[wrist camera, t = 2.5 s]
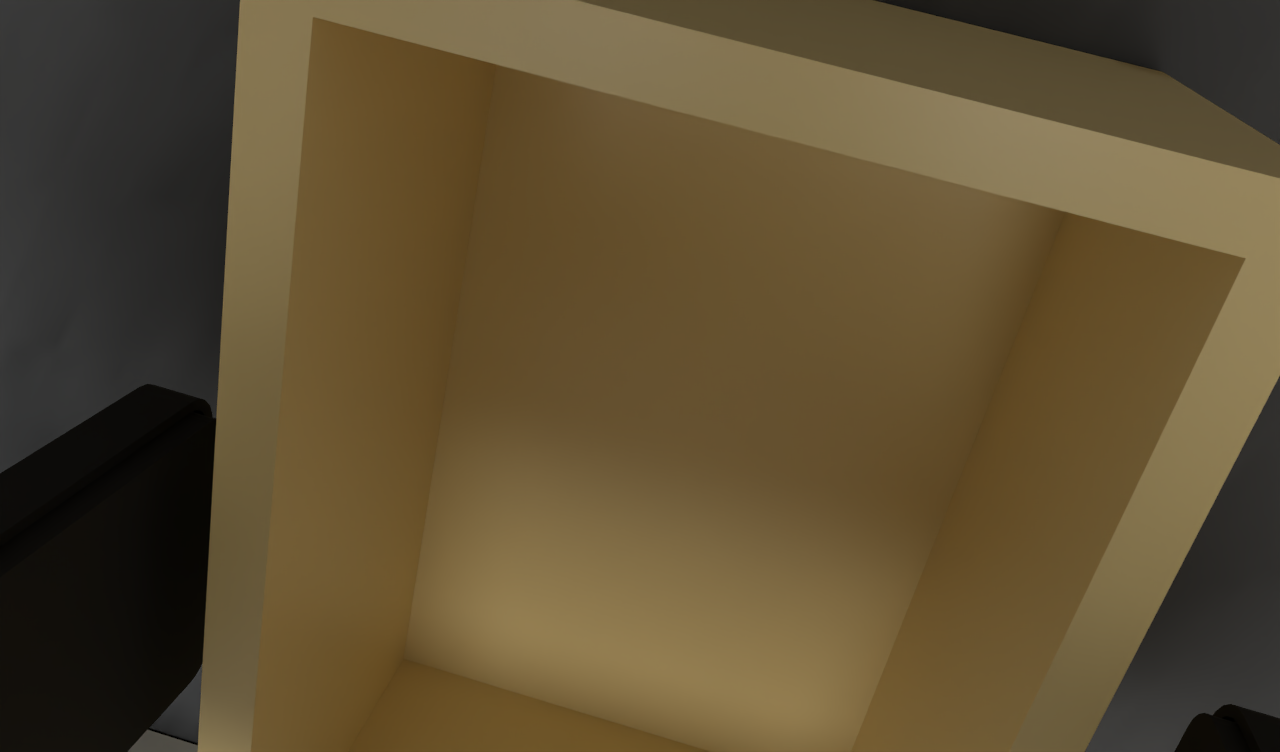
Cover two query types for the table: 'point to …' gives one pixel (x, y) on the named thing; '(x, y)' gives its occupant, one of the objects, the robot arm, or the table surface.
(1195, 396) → the small crate
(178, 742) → the large crate
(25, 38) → the table surface
